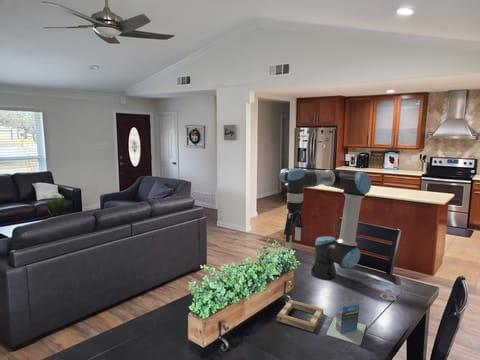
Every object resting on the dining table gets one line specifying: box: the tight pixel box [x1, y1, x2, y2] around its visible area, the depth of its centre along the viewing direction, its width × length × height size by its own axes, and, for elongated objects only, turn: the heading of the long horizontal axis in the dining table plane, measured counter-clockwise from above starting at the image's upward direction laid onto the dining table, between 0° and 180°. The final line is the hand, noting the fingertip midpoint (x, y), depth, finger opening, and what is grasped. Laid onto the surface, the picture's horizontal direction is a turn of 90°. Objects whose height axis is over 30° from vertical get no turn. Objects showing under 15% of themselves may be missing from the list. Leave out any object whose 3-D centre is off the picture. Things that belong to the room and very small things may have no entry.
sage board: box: [325, 316, 367, 346], centre depth 148 cm, size 16×14×1 cm
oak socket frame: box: [276, 299, 325, 333], centre depth 157 cm, size 17×17×2 cm
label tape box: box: [335, 304, 360, 333], centre depth 146 cm, size 9×4×12 cm, turn 110°
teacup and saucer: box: [379, 288, 397, 302], centre depth 178 cm, size 9×8×4 cm
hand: (292, 244), depth 163 cm, fingers open, 13 cm apart
